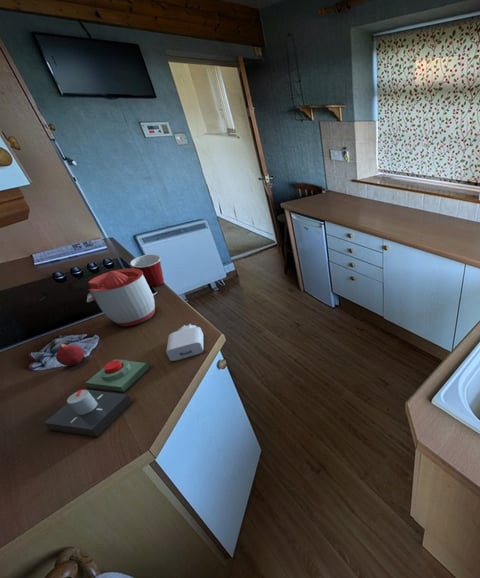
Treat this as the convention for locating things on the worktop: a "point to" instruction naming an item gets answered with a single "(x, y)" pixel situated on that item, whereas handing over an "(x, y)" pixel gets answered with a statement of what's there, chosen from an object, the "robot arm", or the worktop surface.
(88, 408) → the burner knob
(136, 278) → the citrus juicer
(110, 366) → the button
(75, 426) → the panel
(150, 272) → the plastic cup
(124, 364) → the block
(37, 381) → the worktop surface
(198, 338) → the charger
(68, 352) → the red round fruit
